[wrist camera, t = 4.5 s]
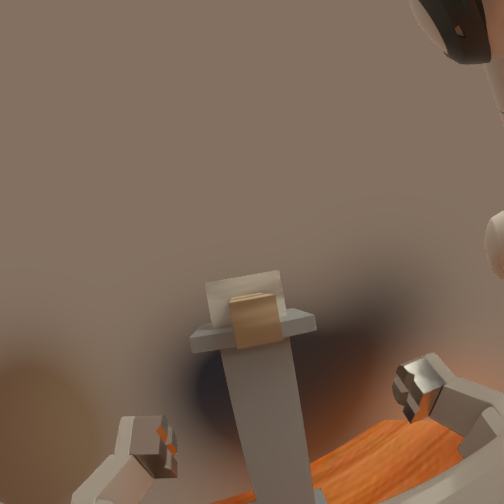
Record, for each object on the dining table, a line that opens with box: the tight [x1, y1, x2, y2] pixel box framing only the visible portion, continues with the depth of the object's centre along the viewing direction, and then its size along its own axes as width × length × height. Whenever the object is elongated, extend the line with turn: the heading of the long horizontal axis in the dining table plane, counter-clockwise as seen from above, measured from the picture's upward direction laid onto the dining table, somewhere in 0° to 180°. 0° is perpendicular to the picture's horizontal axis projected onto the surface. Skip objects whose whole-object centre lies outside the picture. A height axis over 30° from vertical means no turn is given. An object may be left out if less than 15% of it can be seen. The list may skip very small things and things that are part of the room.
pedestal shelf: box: [189, 308, 328, 504], centre depth 32 cm, size 12×11×32 cm
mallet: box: [205, 270, 287, 349], centre depth 28 cm, size 18×8×5 cm, turn 3°
